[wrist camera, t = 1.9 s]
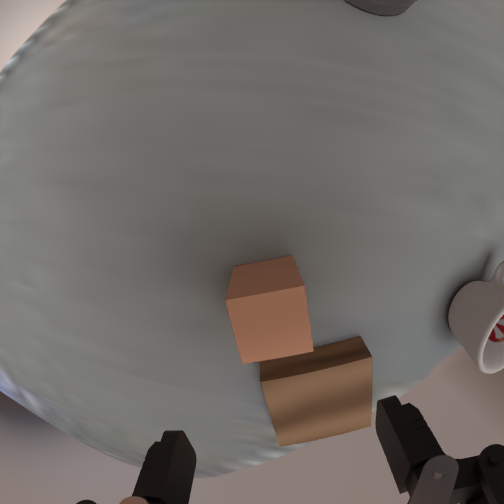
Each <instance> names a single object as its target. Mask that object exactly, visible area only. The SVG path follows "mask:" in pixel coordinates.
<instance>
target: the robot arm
mask: <svg viewBox="0 0 504 504" xmlns="http://www.w3.org/2000/svg"><path fill="white" fill-rule="evenodd" d="M346 1H347V2H349V3H351V4H352V5H354V6H356V7H358V8H360V9H362V10H365V11H367V12H371V13H374V14H378V15H384V16H393V15H398V14H401V13H403V12H405V11H406V10H407V9H408V8H409V7H410V6H411V5H412V4H413V3H414V2H415V1H416V0H346ZM376 432H377V435H378V438H379V441H380V443H381V445H382V448H383V451H384V453H385V455H386V458H387V461H388V463H389V466H390V468H391V471H392V474H393V476H394V479H395V482H396V484H397V487H398V490H399V492H400V494H401V493H404V492H406V491H408V493H409V495H410V499H409V501H408V504H458V503H460V504H504V446H502V445H499V444H494V445H490V446H488V447H486V448H485V449H484V450H483V451H482V452H481V454H480V455H478V456H474V457H469V458H464V459H454V458H452V457H450V456H447V455H446V454H445V453H444V452H443V451H442V449H441V447H440V445H439V444H438V442H437V440H436V438H435V437H434V435H433V433H432V432H431V430H430V428H429V427H428V425H427V423H426V421H425V420H424V418H423V416H422V415H421V413H420V411H419V409H417V408H416V407H415V406H413V405H412V404H410V403H408V404H404V405H401V403H400V401H399V399H398V398H397V396H395V395H394V396H391V397H388V398H384V399H381V400H378V402H377V412H376ZM142 467H143V468H142V469H141V471H140V474H139V477H138V480H137V483H136V486H135V489H134V492H133V494H132V496H131V497H128V498H125V499H124V500H122V501H121V502H120V504H188V503H189V498H190V492H191V487H192V482H193V477H194V472H195V467H196V453H195V451H194V449H193V447H192V445H191V443H190V442H189V440H188V438H187V436H186V434H185V433H184V431H182V430H180V431H165V432H164V433H163V436H162V439H161V442H155V443H154V444H153V445H152V446H151V447H150V448H149V449H148V452H147V454H146V457H145V461H144V463H143V466H142ZM77 504H96V503H95V502H93V501H91V500H82V501H80V502H78V503H77Z"/></svg>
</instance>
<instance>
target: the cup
mask: <svg viewBox="0 0 504 504" xmlns="http://www.w3.org/2000/svg"><path fill="white" fill-rule="evenodd" d="M503 276H504V261H503V262H501V263H500V264H499V266H498V267H497V269H496V271H495V273H494V275H493V277H492V279H491V280H490V281H489V282H483V281H473V282H470V283H468V284H466V285H465V286H464V287H462V288H461V289H460V290H459V292H458V293H457V294H456V296H455V297H454V299H453V301H452V303H451V306H450V309H449V315H448V321H449V326H450V329H451V331H452V333H453V334H454V336H455V337H456V338H457V340H458V341H459V342H460V344H461V345H462V346H463V347H464V349H465V350H466V351H467V353H468V354H469V355H470V357H471V358H472V360H473V361H474V362H475V364H476V365H477V367H478V368H479V369H480V370H481V371H482V372H484V373H488V374H490V373H495V372H497V371H499V370H501V369H503V368H504V284H503Z"/></svg>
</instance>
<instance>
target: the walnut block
mask: <svg viewBox="0 0 504 504" xmlns="http://www.w3.org/2000/svg"><path fill="white" fill-rule="evenodd" d="M313 350H314V351H313V352H308V353H303V354H298V355H293V356H287V357H282V358H276V359H270V360H264V361H260V382H261V386H262V389H263V393H264V396H265V400H266V403H267V406H268V410H269V413H270V416H271V420H272V423H273V426H274V430H275V433H276V436H277V440H278V443H279V446H286V445H292V444H298V443H303V442H308V441H313V440H318V439H323V438H327V437H331V436H335V435H340V434H343V433H347V432H351V431H355V430H359V429H362V428H366V427H369V426H371V414H372V355H371V354H370V352H369V350H368V348H367V347H366V345H365V343H364V341H363V340H362V338H361V336H359V337H355V338H351V339H348V340H344V341H340V342H336V343H332V344H327V345H323V346H319V347H314V348H313Z"/></svg>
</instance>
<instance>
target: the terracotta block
mask: <svg viewBox="0 0 504 504" xmlns="http://www.w3.org/2000/svg"><path fill="white" fill-rule="evenodd" d="M225 301H226V305H227V309H228V313H229V316H230V320H231V324H232V328H233V331H234V335H235V339H236V343H237V346H238V350H239V353H240V357H241V361H242V364H244V363H251V362H257V361H264V360H270V359H276V358H282V357H287V356H293V355H298V354H303V353H308V352H313V351H314V350H313V342H312V334H311V327H310V320H309V312H308V305H307V299H306V292H305V286H304V283H303V281H302V278H301V276H300V273H299V271H298V268H297V266H296V263H295V261H294V258H293V256H287V257H282V258H276V259H271V260H266V261H261V262H256V263H250V264H245V265H240V266H234V268H233V272H232V276H231V280H230V283H229V287H228V291H227V295H226V299H225Z"/></svg>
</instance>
